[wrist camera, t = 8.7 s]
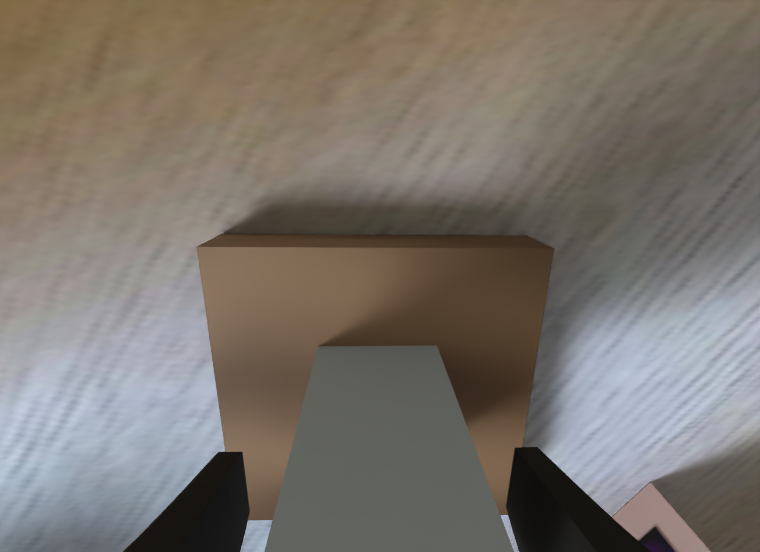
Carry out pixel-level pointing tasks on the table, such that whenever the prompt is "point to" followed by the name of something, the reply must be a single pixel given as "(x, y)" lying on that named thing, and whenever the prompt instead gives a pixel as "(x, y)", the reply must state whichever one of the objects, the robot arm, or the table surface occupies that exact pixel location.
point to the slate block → (384, 461)
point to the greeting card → (658, 524)
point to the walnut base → (370, 331)
